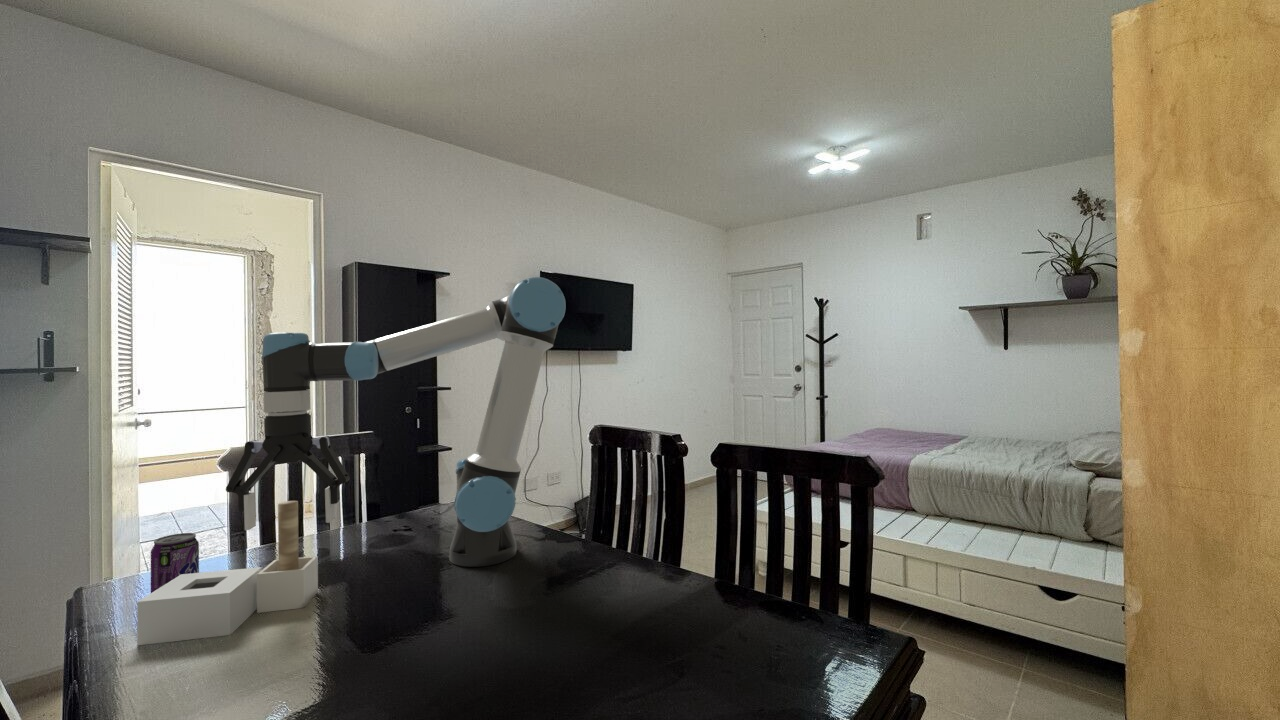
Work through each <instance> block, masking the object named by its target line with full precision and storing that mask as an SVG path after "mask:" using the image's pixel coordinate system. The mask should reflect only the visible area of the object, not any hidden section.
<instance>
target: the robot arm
mask: <svg viewBox="0 0 1280 720" xmlns="http://www.w3.org/2000/svg"><path fill="white" fill-rule="evenodd" d="M566 302H567V301H566V298H565V296H564V293H563V291H562V290H561V288H560V286H558V285H557V284H556V283H555V282H553V281H552V280H550V279H548V278H545V277H542V276H541V277H540V276H533V277H529V278H525V279H523V280H521V281H519V282H517V283H516V284H515V286H514V287H513V288H512V290H511V291H510V294H508V295H506V296H504V297H502V298H499V299H496V300H492V301H490V302H489V303H488V305H487V307H484V308H481V309H480V308H479V309H476V310H473V311H470V312H467V313H463V314H460V315H459V314H458V315H456V316H452V317H448V318H446V319H441V320H437V321H435V322H432V323H428V324H424V325H421V326H417V327H414V328H410V329H407V330H404V331H399V332H396V333H393V334H389V335H385V336H382V337H378V338H374V339H371V340H367V341H364V342H362V341H353V342H352V341H351V342H345V341H344V342H342V341H341V342H321V343H320V342H319V343H318V342H311V340H310V337H309V335H308V334H307V333H304V332H270V333H267V334H266V335H264V336H263V339H262V353H261V354H262V355H261V360H262V378H263V379H262V380H263V381H262V382H263V383H262V384H263V413H265V414H267V415H266V416H265V417H264V418H263V421H264V422H263V424H264V425H263V426H264V431H263V432H264V441H259V440H256V439H252V440H249V441H246V442H245V443H244V450H243V455H242V456H241V458H240V461H239V463H238V464H237V466H236V468H235V470H234V472H233V474H232V476H231V477H230V480H229V481H228V483H227V485H226V486H225V491H226V492H227V493H233V494H236V495H237V498H238V500H237V503H238V510H239V512H240V513H241V512H243V513H244V517H243V519H244V531H250V530H252V529H253V528H255V527H256V526H257V521H256V520H257V518H256V517H257V515H256V514H257V512H256V491H252V488H253V487H255V485H256V484H257V483H258V482H259V481H260V479H261V478H262V477H263V476H264V475H265V474H266V472H268V470H269V469H270V468H271V467H272V466H273V465H274V464H275V463H277V464H285V463H297V462H300V461H301V462H302V463H303V464H305V465H307V466H308V467H309V468H310V469H311V470H312V471H313V472H314V473H315V474H316V475H317V476H318V477H319V478H320V479H321V480H322V481H323V482H324V483H326V485H328V486H327V487H326V488H324V501H325V503H324V504H325V523H326V524H327V523H328V524H329V523H332V521H334V520H335V516H336V515H335V514H336V513H335V505H336V504H338V503H339V501H340V486H341V485H343V484H345V483H347V482H349V480H350V475H349V473H348V472H347V470H346V469H345V467H344V465H343V464H342V461H341V460H340V458H339V457H338V455H337V453H336V452H335V450H334V448H333V447H332V442H331V437H330V436H329V435H324V436H322V437H316V438H314V437H313V436H312V414H310V413H309V412H308V411H310V410H311V386H310V385H311V382H322V381H323V382H329V381H330V382H331V381H333V382H337V381H338V382H339V381H356V382H358V381H363V380H372V379H375V378H376V377H377V376H378V375H379V374H382V373H385V372H388V371H391V370H394V369H398V368H402V367H405V366H409V365H411V364H414V363H419V362H422V361H424V360H425V361H426V360H429V359H431V358H434V357H438V356H442V355H445V354H448V353H451V352H455V351H457V350H461V349H464V348H469V347H471V346H475V345H478V344H482V343H485V342H488V341H491V340H496V339H499V340H501V341H504V346H503V349H502V352H501V356H500V360H499V363H498V368H497V372H496V375H495V379H494V382H493V386H492V388H491V389H492V390H491V394H490V397H489V401H488V404H487V408H486V412H485V416H484V418H483V419H484V420H483V424H482V427H481V432H480V433H479V434H480V435H479V438H478V441H477V446H476V449H475V452H473V453H472V454H470V455H469V456H466V457H465V458H461V459H459V460H457V462H456V470H455V474H456V491H455V493H456V494H455V497H454V502H453V503H454V505H453V506H454V511H455V514H456V528H455V531H454V534H453V537H452V540H451V543H450V547H449V558H448V559H449V561H450V563H451V564H454V565H456V566H459V567H469V568H471V567H472V568H475V567H476V568H478V567H486V566H492V565H498V564H500V563H501V564H502V563H503V562H506V561H509V560H511V559H512V558H514V557H515V556H516V554H517V540H516V538H515V535H514V532H513V530H512V525H511V524H510V518H511V517H512V515H513V514H514V512H515V511H514V510H515V508H516V500H517V498H516V490H517V487H518V483H519V478H520V475H521V471H522V467H521V466H520V464H519V463H518V461H517V458H518V456H519V455H518V453H519V450H520V447H521V443H522V439H523V436H524V430H525V427H526V423H527V420H528V415H529V413H530V410H531V409H530V408H531V405H532V402H533V401H532V400H533V396H534V393H535V389H536V386H537V381H538V378H539V374H540V369H541V365H542V362H543V358H544V354H545V352H547V351H548V350H550V349H551V348H553V347H554V344H555V339H556V337H557V336H556V335H557V333H558V328H559V325H560V323H561V322H562V321H563V319H564V317H565V313H566V309H567V308H566ZM314 445H315V446H316V448H317V449H320V451H321V454H322V455H323V457H324V458H325V460H326V462H327V464H328V465H329V468H331V470H332V472H333V473H332V472H331V470H329V469H328V468H327V467H326V465H324V464H323V463H322V462H321V461H320V460H319V459H318V458H317V457H316V455H315V454H314V453H313V452H312V451H311V449H312V448H313V447H314ZM261 449H263V450H264V451H265V453H267V455H266V456H265V458H264V459H262V461H261V463H260V464H259V465H258V466H257V467H256V468H255V470H254V471H253V472H252V473H251V474H250V476H249V477H248V478H247V479H245V477H246V475H247V473H248V471H249V469H250V468H251V466H252V463H253V462H254V459H256V456H257V454H258V453H259V452H260V451H261ZM244 479H245V481H244ZM243 481H244V482H243Z"/></svg>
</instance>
